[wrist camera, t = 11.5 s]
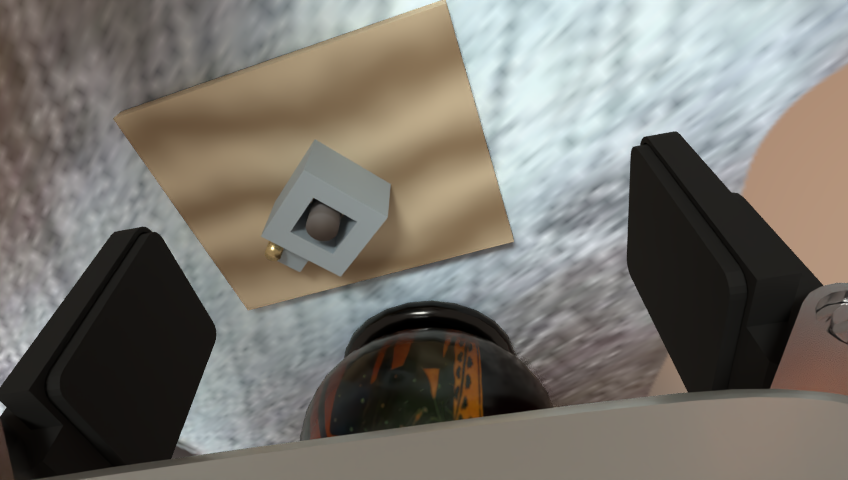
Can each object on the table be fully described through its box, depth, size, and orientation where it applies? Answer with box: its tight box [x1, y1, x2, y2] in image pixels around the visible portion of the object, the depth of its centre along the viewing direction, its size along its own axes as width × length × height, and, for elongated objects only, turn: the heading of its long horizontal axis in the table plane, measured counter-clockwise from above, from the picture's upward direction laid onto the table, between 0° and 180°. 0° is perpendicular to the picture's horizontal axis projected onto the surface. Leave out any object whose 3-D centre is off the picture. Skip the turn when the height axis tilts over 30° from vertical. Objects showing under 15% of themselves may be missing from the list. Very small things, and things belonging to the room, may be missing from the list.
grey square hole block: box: [261, 140, 391, 277], centre depth 40 cm, size 9×6×4 cm
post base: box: [113, 0, 514, 310], centre depth 40 cm, size 19×24×6 cm
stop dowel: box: [265, 241, 284, 261], centre depth 42 cm, size 1×1×4 cm
